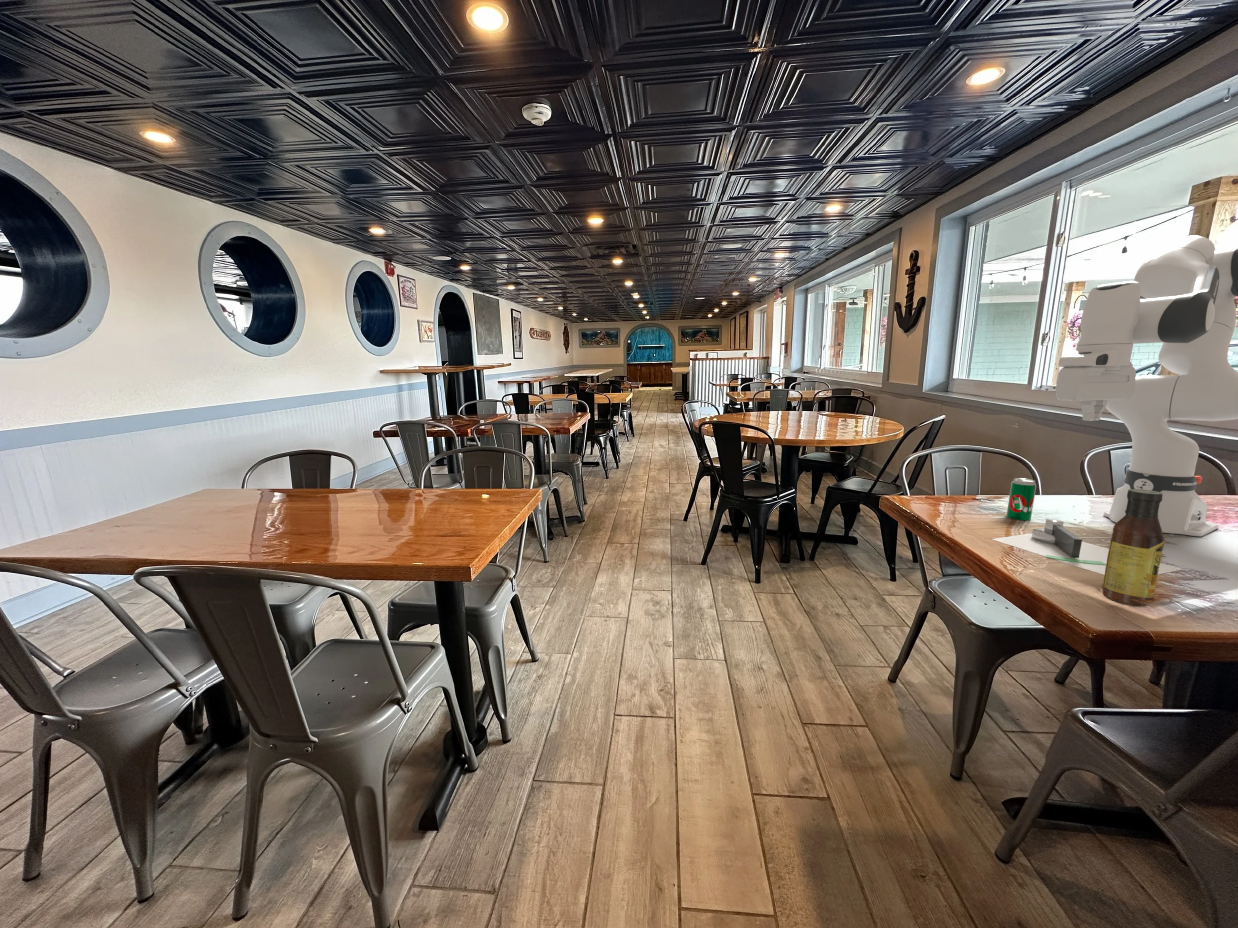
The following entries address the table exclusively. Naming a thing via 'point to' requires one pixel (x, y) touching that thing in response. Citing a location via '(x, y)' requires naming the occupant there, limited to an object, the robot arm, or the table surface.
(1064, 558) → the board
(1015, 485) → the soda can
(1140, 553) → the sauce bottle
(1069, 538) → the grey black long piece
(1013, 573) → the table surface
